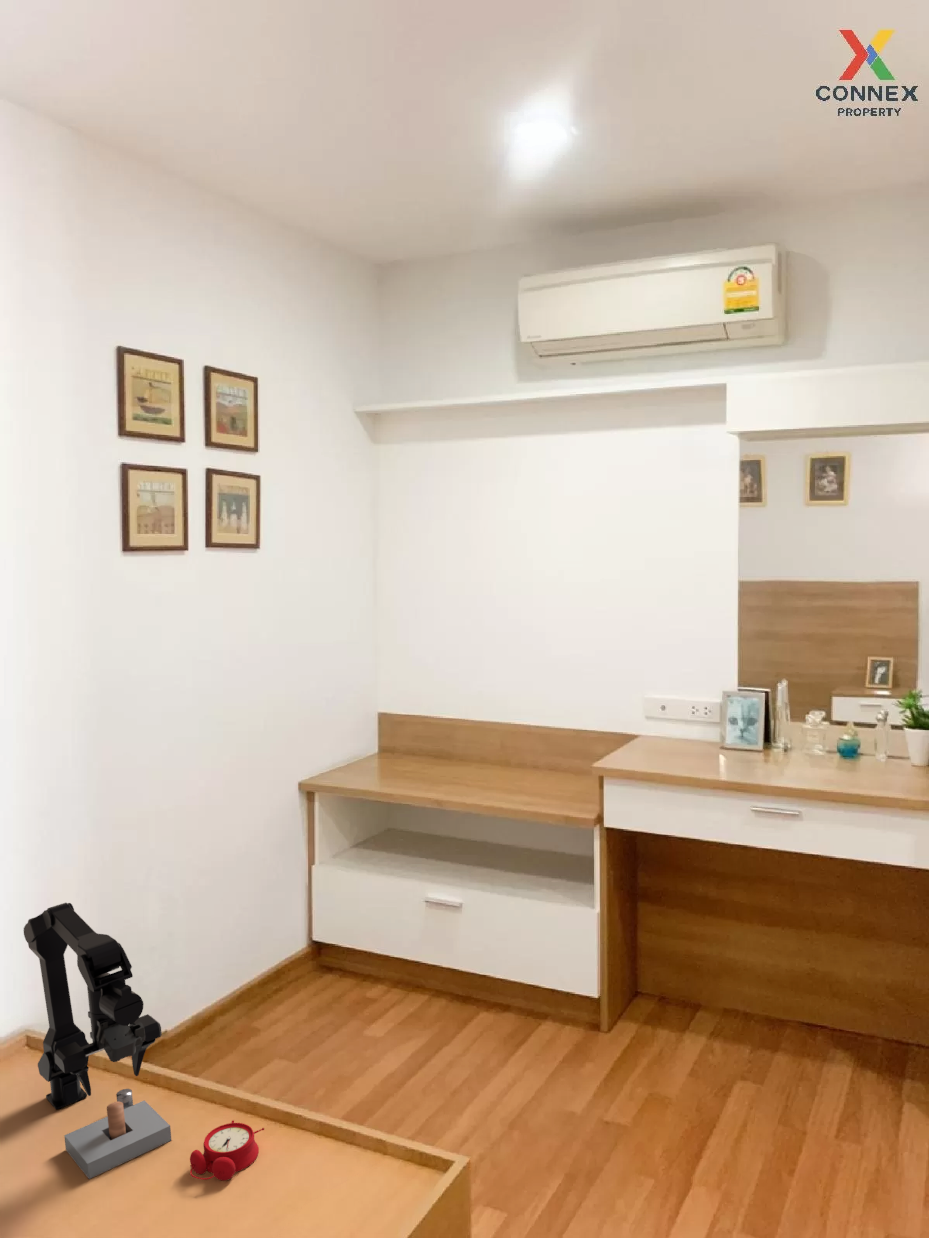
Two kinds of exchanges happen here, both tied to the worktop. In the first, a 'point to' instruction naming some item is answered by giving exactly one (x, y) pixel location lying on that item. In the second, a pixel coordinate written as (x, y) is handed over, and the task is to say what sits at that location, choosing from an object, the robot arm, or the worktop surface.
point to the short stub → (125, 1097)
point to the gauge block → (117, 1140)
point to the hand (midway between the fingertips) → (113, 1084)
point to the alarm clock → (225, 1151)
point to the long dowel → (116, 1120)
